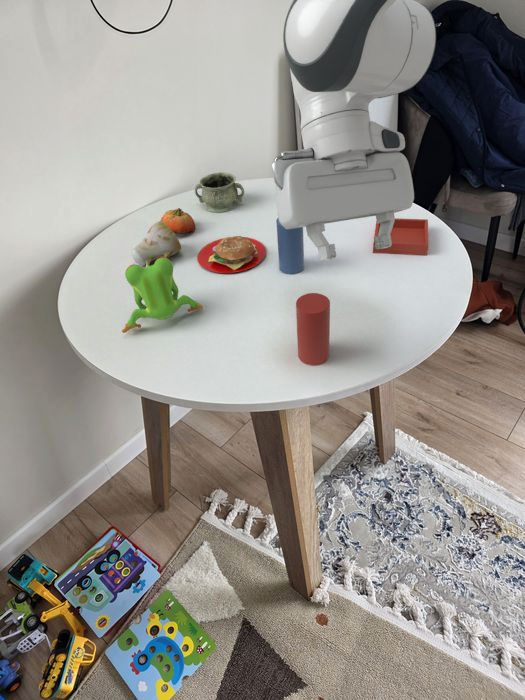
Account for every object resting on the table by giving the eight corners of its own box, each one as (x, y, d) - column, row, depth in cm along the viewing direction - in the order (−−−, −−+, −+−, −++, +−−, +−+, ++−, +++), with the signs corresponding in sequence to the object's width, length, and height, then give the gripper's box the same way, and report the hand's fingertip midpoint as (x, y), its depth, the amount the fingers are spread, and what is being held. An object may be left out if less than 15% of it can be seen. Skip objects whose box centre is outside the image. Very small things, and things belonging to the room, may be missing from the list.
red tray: (426, 229, 101) (427, 219, 99) (426, 255, 94) (428, 244, 92) (376, 227, 103) (376, 217, 102) (372, 252, 96) (373, 242, 94)
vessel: (248, 196, 119) (246, 171, 115) (242, 213, 113) (239, 187, 109) (201, 197, 121) (197, 172, 117) (192, 213, 115) (187, 188, 111)
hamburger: (279, 247, 100) (277, 220, 96) (239, 281, 92) (236, 254, 88) (224, 232, 107) (221, 207, 103) (183, 263, 98) (178, 237, 94)
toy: (193, 291, 91) (183, 244, 84) (207, 318, 85) (197, 268, 78) (116, 314, 88) (100, 266, 81) (125, 343, 81) (108, 294, 75)
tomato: (193, 233, 104) (168, 208, 102) (173, 253, 108) (148, 229, 106) (203, 221, 111) (179, 197, 109) (184, 240, 114) (161, 217, 112)
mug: (125, 263, 101) (131, 214, 98) (170, 268, 106) (177, 222, 103) (135, 270, 95) (142, 218, 92) (182, 276, 100) (190, 227, 97)
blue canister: (306, 261, 96) (305, 214, 89) (301, 275, 92) (300, 226, 85) (282, 260, 97) (279, 213, 90) (277, 273, 93) (273, 225, 87)
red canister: (331, 345, 77) (332, 294, 70) (326, 366, 73) (327, 314, 67) (300, 343, 78) (299, 291, 71) (295, 363, 74) (293, 311, 68)
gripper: (282, 143, 56) (304, 263, 58) (413, 134, 65) (429, 238, 66) (257, 160, 61) (279, 269, 63) (381, 150, 70) (396, 246, 72)
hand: (357, 253), depth 65 cm, fingers open, 8 cm apart
